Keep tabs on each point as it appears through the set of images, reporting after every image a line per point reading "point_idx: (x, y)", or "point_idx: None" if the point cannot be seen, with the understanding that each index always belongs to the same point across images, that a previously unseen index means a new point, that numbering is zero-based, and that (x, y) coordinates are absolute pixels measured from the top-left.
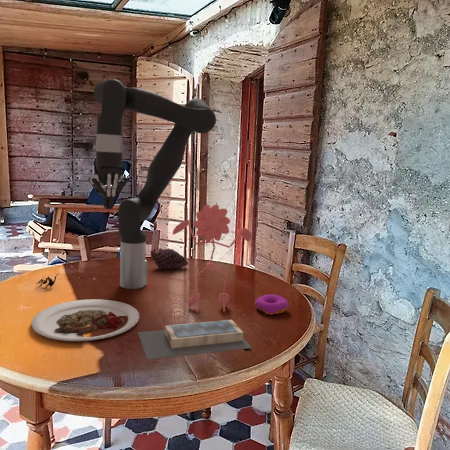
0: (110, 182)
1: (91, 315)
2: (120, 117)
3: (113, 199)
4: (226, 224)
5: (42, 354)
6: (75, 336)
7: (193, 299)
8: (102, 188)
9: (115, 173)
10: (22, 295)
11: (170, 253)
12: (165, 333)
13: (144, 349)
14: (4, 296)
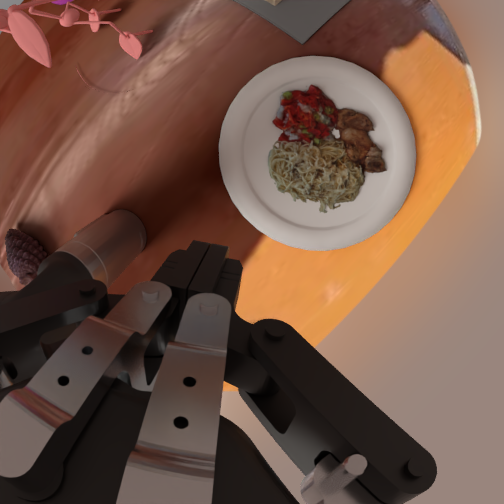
0: (154, 405)
1: (312, 155)
2: None
3: (158, 277)
4: None
5: (439, 129)
6: (378, 126)
7: (134, 41)
8: (290, 374)
9: (7, 481)
10: None
11: (17, 254)
12: (278, 2)
13: (344, 3)
14: (314, 347)
